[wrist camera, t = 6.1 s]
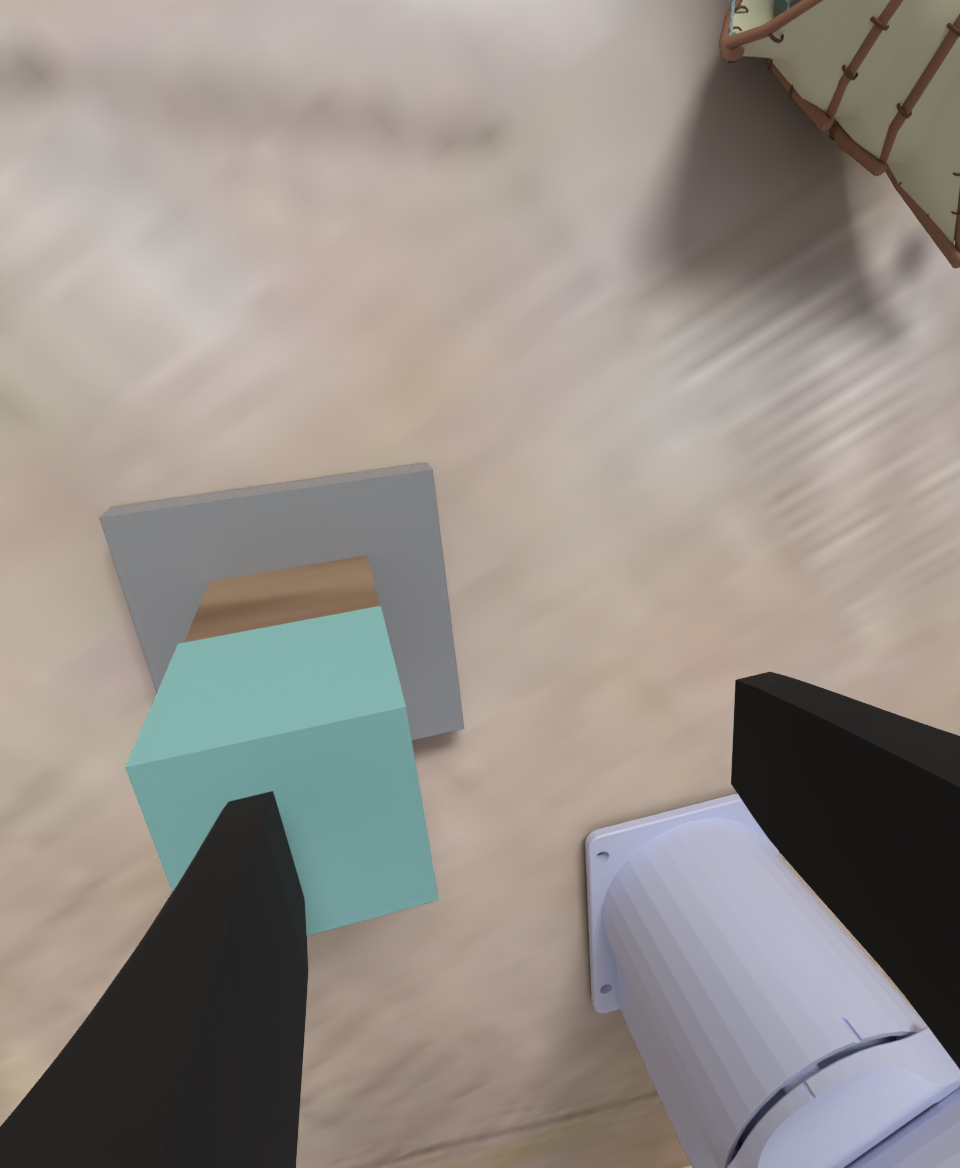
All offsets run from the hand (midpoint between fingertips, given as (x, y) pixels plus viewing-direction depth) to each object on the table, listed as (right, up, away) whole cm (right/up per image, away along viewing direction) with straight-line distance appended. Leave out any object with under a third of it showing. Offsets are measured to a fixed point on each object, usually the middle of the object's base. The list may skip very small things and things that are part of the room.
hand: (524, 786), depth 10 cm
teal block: (-4, 0, +4) cm, 6 cm away
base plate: (-6, +2, +9) cm, 11 cm away
